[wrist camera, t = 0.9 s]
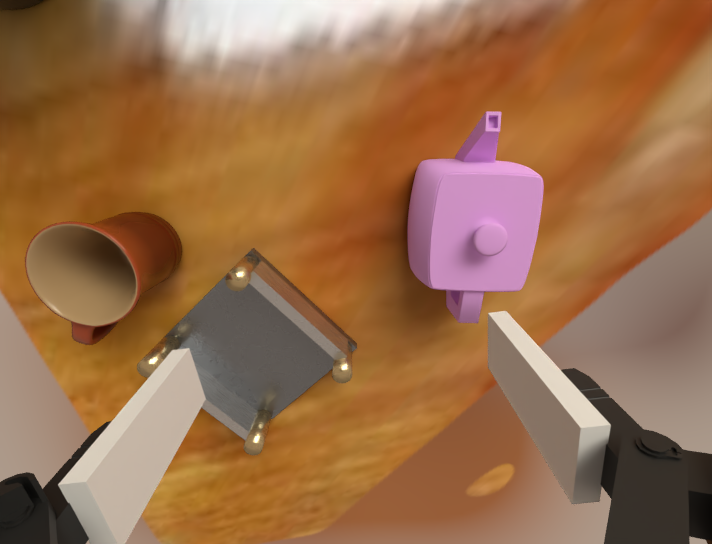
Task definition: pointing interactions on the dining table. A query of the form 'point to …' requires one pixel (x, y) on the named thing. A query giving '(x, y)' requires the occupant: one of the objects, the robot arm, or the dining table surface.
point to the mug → (100, 268)
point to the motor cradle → (256, 348)
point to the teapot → (473, 222)
